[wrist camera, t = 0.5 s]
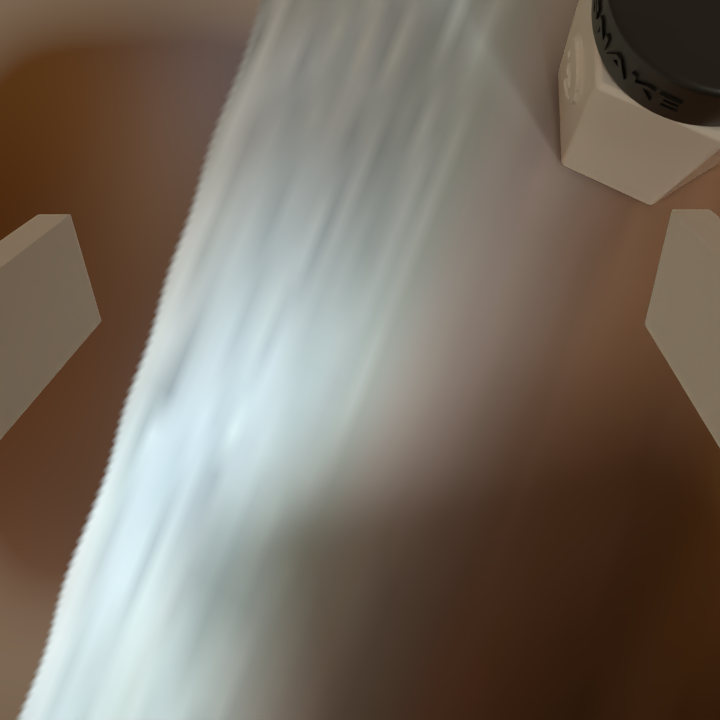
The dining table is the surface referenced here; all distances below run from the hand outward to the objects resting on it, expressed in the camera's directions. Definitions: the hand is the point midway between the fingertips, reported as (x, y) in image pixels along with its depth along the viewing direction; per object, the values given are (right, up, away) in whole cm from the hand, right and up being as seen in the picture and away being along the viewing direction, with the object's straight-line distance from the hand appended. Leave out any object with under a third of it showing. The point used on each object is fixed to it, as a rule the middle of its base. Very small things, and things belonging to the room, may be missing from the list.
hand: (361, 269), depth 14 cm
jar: (+13, +10, +16) cm, 23 cm away
